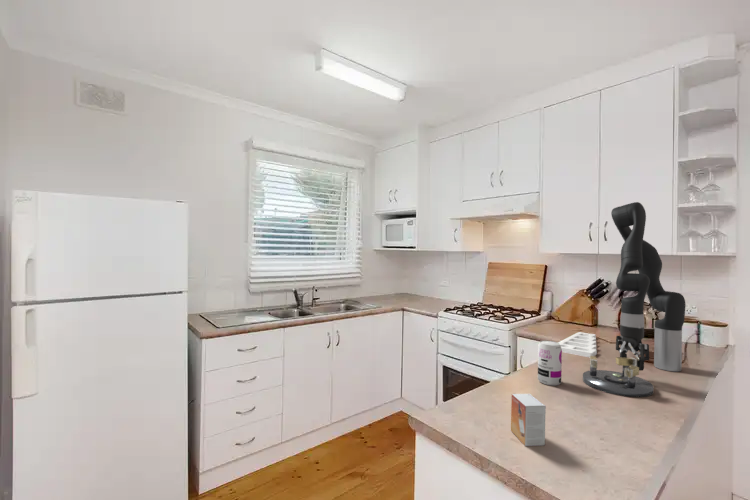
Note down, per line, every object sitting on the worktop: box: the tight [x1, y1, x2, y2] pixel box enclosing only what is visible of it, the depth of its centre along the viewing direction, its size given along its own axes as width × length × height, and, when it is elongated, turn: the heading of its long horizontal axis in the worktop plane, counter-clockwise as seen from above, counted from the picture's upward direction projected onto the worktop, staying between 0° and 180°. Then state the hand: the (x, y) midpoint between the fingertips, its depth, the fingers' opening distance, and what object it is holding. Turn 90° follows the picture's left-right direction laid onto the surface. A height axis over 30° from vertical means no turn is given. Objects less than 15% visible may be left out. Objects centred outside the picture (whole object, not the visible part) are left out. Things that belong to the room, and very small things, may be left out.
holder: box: [557, 331, 598, 358], centre depth 192 cm, size 45×18×3 cm, turn 135°
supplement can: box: [537, 340, 563, 387], centre depth 138 cm, size 8×8×15 cm
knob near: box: [615, 356, 637, 375], centre depth 140 cm, size 6×2×7 cm, turn 84°
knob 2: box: [624, 366, 640, 388], centre depth 128 cm, size 6×2×7 cm, turn 122°
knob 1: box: [589, 355, 598, 376], centre depth 139 cm, size 6×2×7 cm, turn 152°
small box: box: [510, 393, 547, 447], centre depth 97 cm, size 8×6×10 cm
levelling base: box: [582, 369, 654, 398], centre depth 136 cm, size 22×22×4 cm
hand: (631, 366), depth 140 cm, fingers open, 8 cm apart
